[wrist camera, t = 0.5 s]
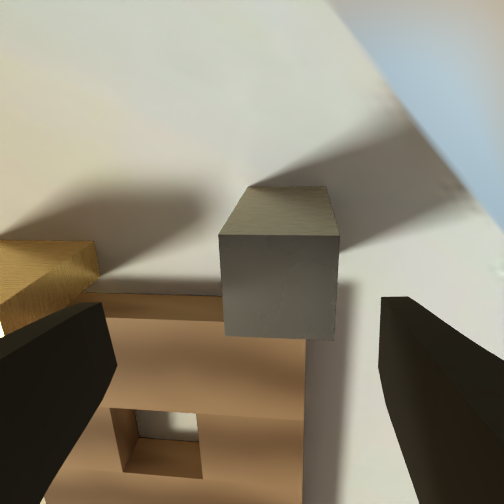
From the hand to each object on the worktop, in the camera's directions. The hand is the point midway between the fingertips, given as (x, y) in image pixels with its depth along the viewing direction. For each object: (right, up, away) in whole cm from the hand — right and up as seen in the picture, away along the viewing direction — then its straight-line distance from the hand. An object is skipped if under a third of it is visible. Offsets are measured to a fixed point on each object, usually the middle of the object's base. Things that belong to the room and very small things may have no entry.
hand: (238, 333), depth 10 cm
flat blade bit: (-11, +2, +11) cm, 16 cm away
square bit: (+2, +3, +9) cm, 10 cm away
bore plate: (-5, -8, +14) cm, 16 cm away
